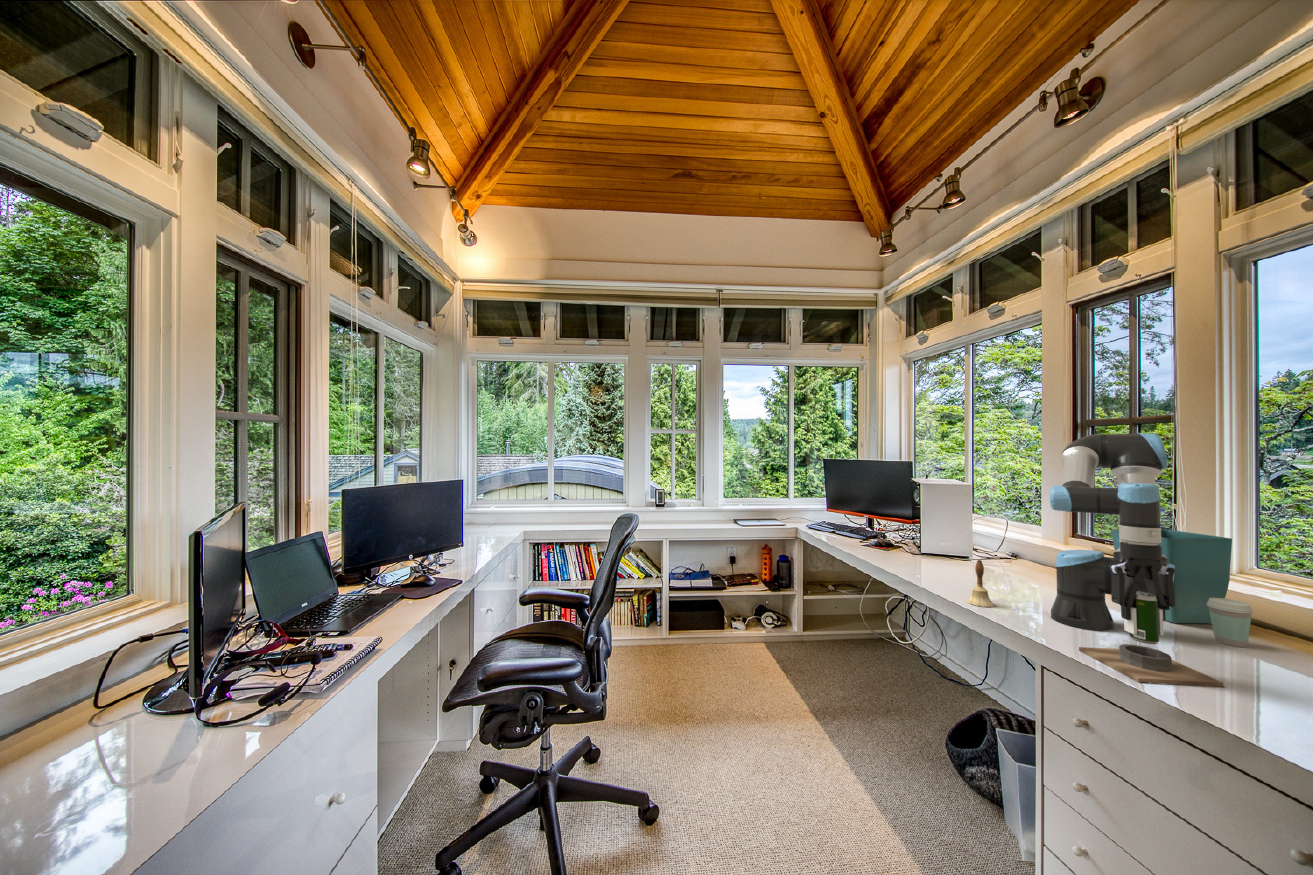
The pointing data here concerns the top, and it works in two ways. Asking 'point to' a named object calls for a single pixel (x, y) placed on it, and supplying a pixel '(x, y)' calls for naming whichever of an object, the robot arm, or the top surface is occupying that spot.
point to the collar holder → (1149, 665)
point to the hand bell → (980, 589)
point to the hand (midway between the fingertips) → (1143, 632)
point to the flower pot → (1194, 572)
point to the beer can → (1146, 618)
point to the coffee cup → (1230, 621)
